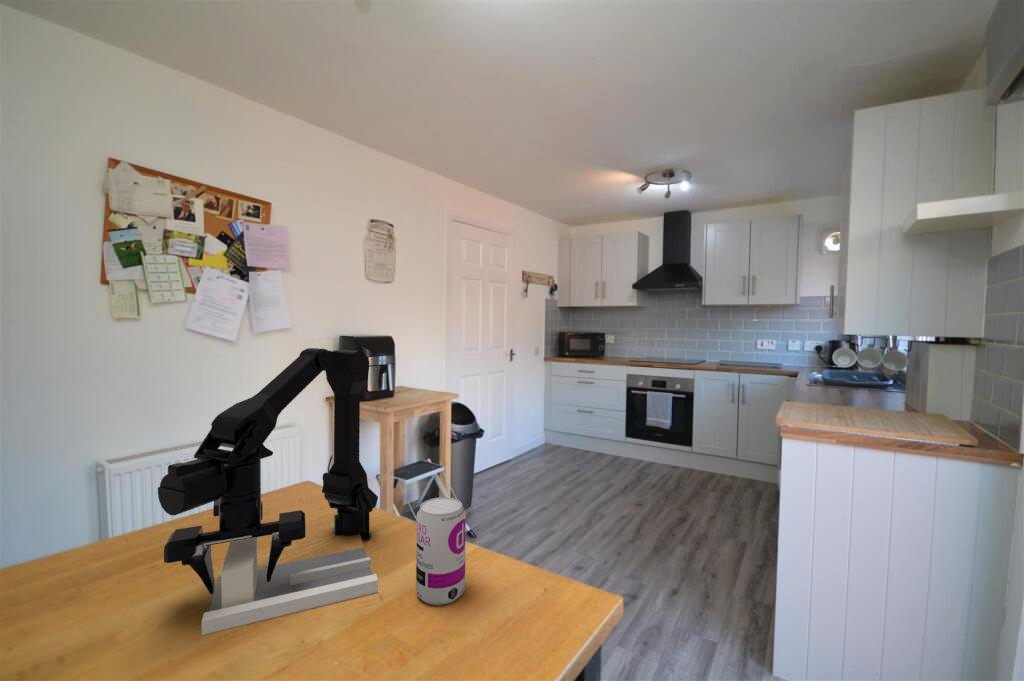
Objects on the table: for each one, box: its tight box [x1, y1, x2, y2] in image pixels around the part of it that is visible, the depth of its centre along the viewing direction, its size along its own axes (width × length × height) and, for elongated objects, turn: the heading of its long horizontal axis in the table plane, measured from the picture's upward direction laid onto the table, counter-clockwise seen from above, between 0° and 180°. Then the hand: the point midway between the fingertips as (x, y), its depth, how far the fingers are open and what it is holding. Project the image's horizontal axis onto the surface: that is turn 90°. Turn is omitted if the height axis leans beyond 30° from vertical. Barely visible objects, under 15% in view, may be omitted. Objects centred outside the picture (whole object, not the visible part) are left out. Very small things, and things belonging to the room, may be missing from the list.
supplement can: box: [415, 496, 467, 606], centre depth 75 cm, size 8×8×15 cm
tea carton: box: [220, 537, 259, 609], centre depth 71 cm, size 4×10×7 cm, turn 26°
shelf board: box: [201, 547, 379, 636], centre depth 75 cm, size 24×16×4 cm, turn 116°
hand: (241, 586), depth 71 cm, fingers open, 7 cm apart
